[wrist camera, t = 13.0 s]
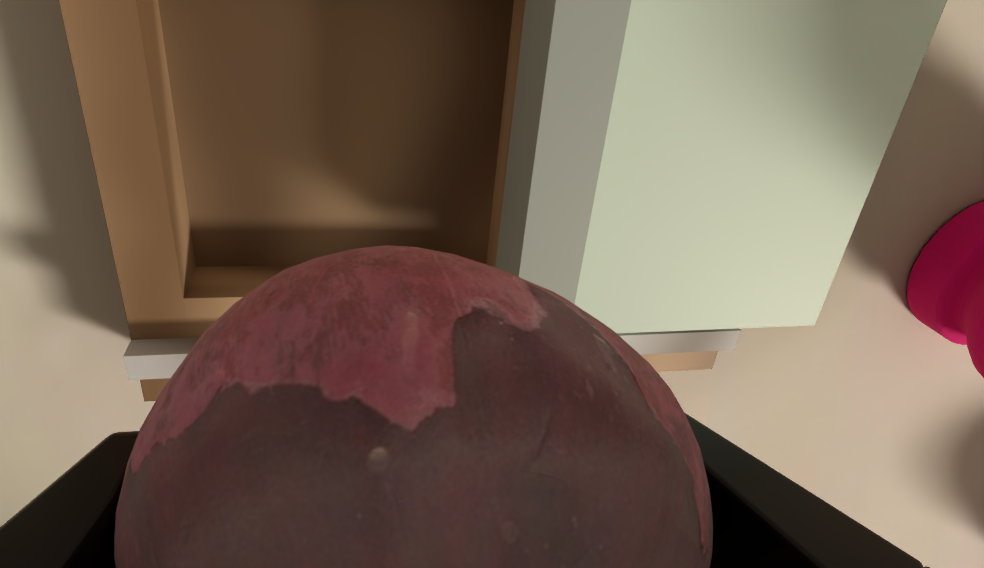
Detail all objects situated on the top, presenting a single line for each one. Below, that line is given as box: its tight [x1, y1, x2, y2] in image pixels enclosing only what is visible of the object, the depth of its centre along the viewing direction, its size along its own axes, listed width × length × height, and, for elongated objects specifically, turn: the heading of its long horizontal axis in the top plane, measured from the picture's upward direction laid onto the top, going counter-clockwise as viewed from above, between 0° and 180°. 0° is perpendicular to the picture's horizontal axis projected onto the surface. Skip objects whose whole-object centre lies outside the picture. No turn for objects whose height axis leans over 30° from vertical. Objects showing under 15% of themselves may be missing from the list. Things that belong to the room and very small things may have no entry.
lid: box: [495, 0, 947, 333], centre depth 17 cm, size 12×11×3 cm
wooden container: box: [59, 0, 741, 401], centre depth 18 cm, size 19×16×3 cm
